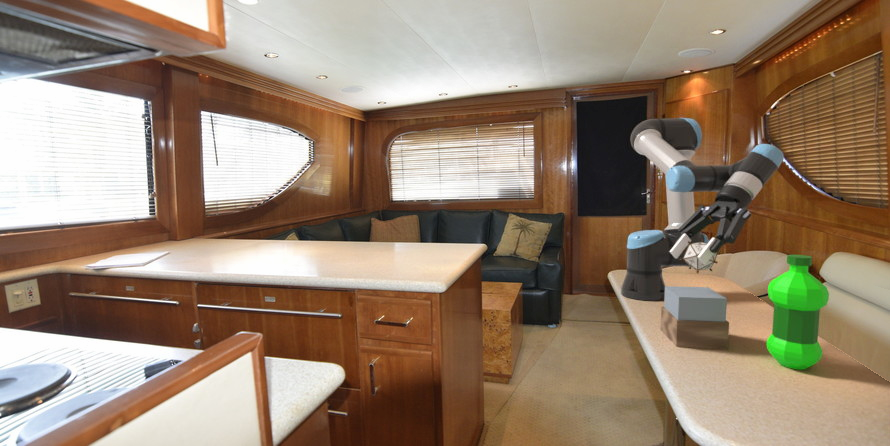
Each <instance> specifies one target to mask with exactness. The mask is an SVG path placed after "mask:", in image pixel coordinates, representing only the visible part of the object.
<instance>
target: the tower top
mask: <svg viewBox="0 0 890 446" xmlns="http://www.w3.org/2000/svg"><path fill="white" fill-rule="evenodd" d="M663 301H664V303H663V304H664V305H663V307H664V308H666V309H667V310H668V311H669V312H670V313H671V314H672V315H673V316H674V317H675V318H676V319H677V320H687V321H714V322H726V321H727V306H728V305H727V304H728V298H727V297H726V296H724V295H723V294H720V293H719V292H718V291H715V290H714V289H712V288H711V287H708V286H674V285H673V286H672V285H671V286H670V285H665V299H663Z"/></svg>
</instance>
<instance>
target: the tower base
mask: <svg viewBox="0 0 890 446" xmlns="http://www.w3.org/2000/svg"><path fill="white" fill-rule="evenodd" d="M660 308H661V313H660V315H661V316H660V331H661V332H662V333H663V334H664V335H665V336H666V337H667V339H669V341H670V342H671V341H672V342H673V343H672V344H673V345H674V346H675V347H677V348H679V347H680V348H700V349H702V348H703V349H704V348H705V349H723V350H725V349H727V350H728V349H729V336H730V335H729V333H730V330H729V329H730V321H728V320H726V322H714V321H687V320H677V319H676V318H675V317H674V316H673V315H672V314H671V313H670V312H669V311H668V310H667V309H666V308H664V306H661V307H660Z"/></svg>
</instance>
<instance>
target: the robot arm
mask: <svg viewBox="0 0 890 446" xmlns="http://www.w3.org/2000/svg"><path fill="white" fill-rule="evenodd" d="M702 138H703V132H702V127H701V126H700V124H699V123H698V121H697V120H695V119H693V118H688V117H686V118H685V117H679V118H676V117H675V118H670V117H669V118H650V119H649V118H648V119H646V120H643V121H641V122H640V123H638V124H637V125H636V126H635V127H634V128H633V130H632V132H631V133H630V138H629V139H630V144H631V147H632V149H633V150H634V151H635V152H636V153H638V154H639V155H642V156H645V157H646V158H647V159H648V160H649V161H650V162H651V163H653V164H654V166H656V167H657V168H658V169H659V170H660V171H661V172H662V173H663V174H664V175H665V176H664V177H665V187H666V188H665V191H666V206H667V220H668V225H667V226H666V227H665V228H664V230H660V229H651V230H649V229H645V230H638V231H635V232H631V233H630V234H629V235H628V237H627V244H626V274H625V277H624V278H623V282H622V285H621V287H620V294H621V295H622V296H624V297H626V298H628V299H629V298H630V299H634V300H638V301H651V302H652V301H662V300H663V301H664V299H665V286H666V284H665V283H666V282H665V280H664V278H663V268H664V267H669V268H670V267H687V268H689V267H690V266H689V265H688V264H687V263H686V262H685V261H684V260H680V259H681V258H683V257H684V255H685V251H684V250H687V248H688V246H689V243H688V241H690V243H699V242H701V240H703V243H706V244H707V245H706V246H705V248H704V249H703V250H702V251H701V253H700V254H699V255H698V256H697V257H698V259H699V260H700V261H701V262H702V264H705V265H706V263H707V262H708V261H709V259H710V258H711V257H712V256H713V254H714V253H718V252H719V251H720V249H721V248H722V247H723V245H726V244H728V243H729V244H731V245H733V244H734V243H735V242H736V240H737V238H738V237H739V235H740V233H741V232H742V231H741V230H742V229H743V227H744V225H745V224H746V222H747V220H749V219H750V218H751V217H752V214H751V212H750V211H749V209H748V208H749V206H750V205H751V203H752V201H753V200H754V199H755V198H756V196H758V194H759V192H761V190H762V189H763V187H764V186H766V185H765V184H766V183H768V181H769V180H770V179H771V177H772V176H773V175H774V174H775V173H776V171H777V170H779V168H780V166H781V164H782V163H783V161H784V158H785V155H784V153H783V152H782V150H781V149H780V148H778V147H777V146H776V145H772V144H769V143H760V144H757V145H755V147H753V149H752V150H750V151H749V153H748V154H747V156H746V157H743V158H742V159H740V160H738V161H736V162H734V163H732V164H726V165H725V164H723V165H719V164H718V165H696V164H695V163H694V162H693V161H692V157H693V156H694V155H695V154H696V150H697V149H699V148H700V146H701V143H702V142H701V141H702ZM698 192H699V193H700V192H702V193H703V192H711V193H712V192H713V193H714V192H716V195H715V198H714V202H713V203H711V204H710V205H709V206H704V204H701V205H699V206H698V208H697V209H695V199H694V198H695V196H694V195H695V193H698ZM716 222H719V225H718V229H717V234H715V235H714V237H711V239H709V237H708V236H707V235H706V234H705V233H702V231H703V230H704V229H705V228H707V227H708V226H709V225H713V224H715V223H716Z"/></svg>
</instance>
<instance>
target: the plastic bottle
mask: <svg viewBox="0 0 890 446" xmlns="http://www.w3.org/2000/svg"><path fill="white" fill-rule="evenodd" d="M786 257H787V258H786V264H787V265H789V270H787V271H786V272H784V273H782V274H781V275H778V276H777V277H775V278H774V279H772V280H770V282H769V283H768V286H767V294H768V298H769V300H770V301H771V302H772V303H773V313H772V314H773V317H772V330H771V331H772V333H771V334H770V335H769V337H768V338H767V340H766V348H767V350H768V352H769V354H770V355H771V356H772V357H773V359H774V360H775V361H776V362H777V363H779V365H780V366H783V367H786V368H789V369H793V370H806V369H808V368H810V367H812V366H814V365H815V364H817V363H819V362H820V360H821V359H822V358H823V353H824V351H823V349H822V346H821V344H820V342H819V340H818V338H819V328H820V327H819V325H820V312H821V309H822V308H824V307H826V306H827V305H828V301H829V299H830V298H829V297H830V293H829V290H828V287H827V286H826V285H825V284H824V283H822V282H821V281H820V280H819V279H817V278H816V277H815V276H814V275H812V274H811V273H810V272H809V267H811V266H812V265H813V256H811V255H805V254H788V255H787V256H786Z"/></svg>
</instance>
